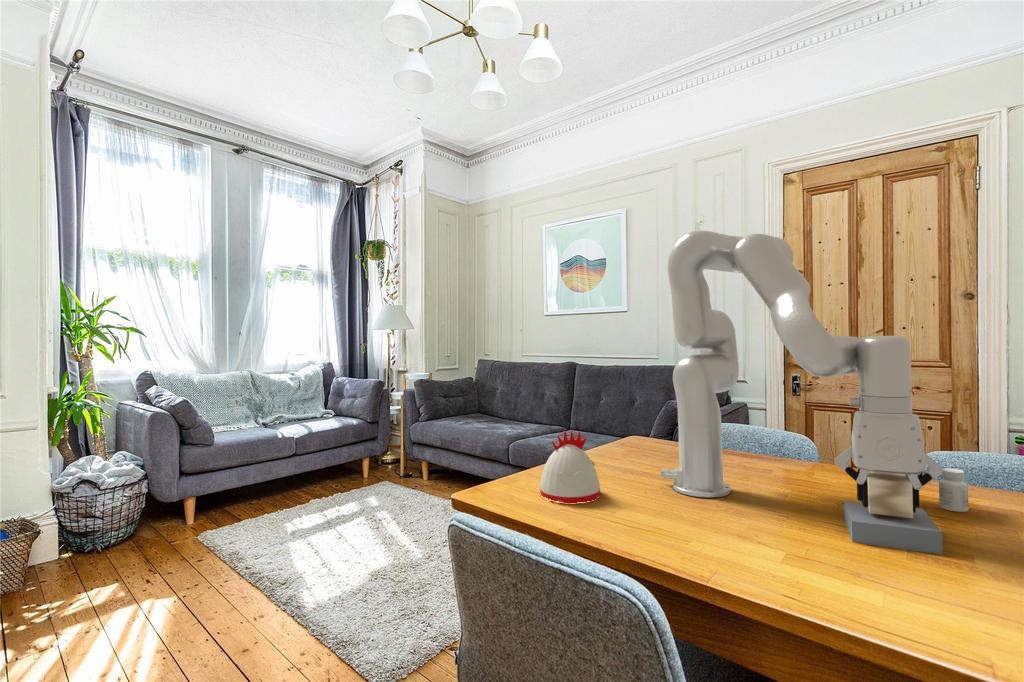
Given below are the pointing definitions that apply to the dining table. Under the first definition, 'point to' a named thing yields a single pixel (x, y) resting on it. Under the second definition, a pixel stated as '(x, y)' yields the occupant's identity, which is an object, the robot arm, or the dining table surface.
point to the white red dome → (570, 473)
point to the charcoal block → (892, 529)
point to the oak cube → (889, 494)
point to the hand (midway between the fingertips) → (887, 506)
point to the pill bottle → (953, 491)
